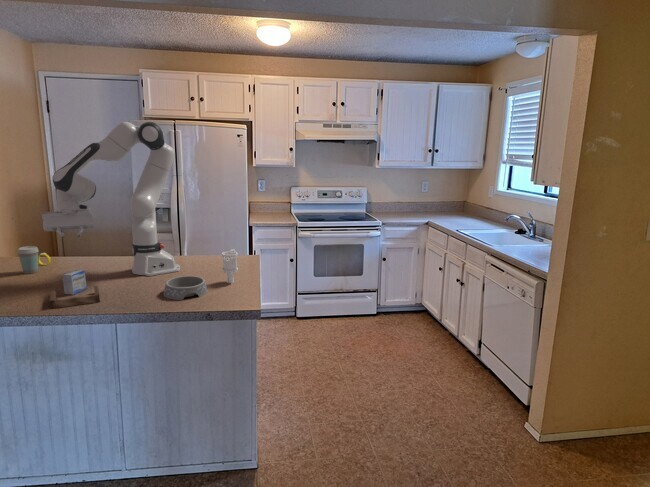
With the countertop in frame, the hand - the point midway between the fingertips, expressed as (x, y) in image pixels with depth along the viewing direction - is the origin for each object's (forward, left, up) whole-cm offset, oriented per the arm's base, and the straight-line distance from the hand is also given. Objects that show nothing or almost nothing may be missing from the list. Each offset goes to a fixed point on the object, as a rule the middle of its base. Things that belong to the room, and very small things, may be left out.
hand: (70, 236), depth 195 cm
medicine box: (0, +12, -22) cm, 25 cm away
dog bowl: (-42, +32, -22) cm, 57 cm away
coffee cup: (+19, -27, -22) cm, 39 cm away
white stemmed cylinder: (-63, +26, -22) cm, 72 cm away
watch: (+14, -39, -22) cm, 47 cm away
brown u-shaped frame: (0, +23, -21) cm, 32 cm away
